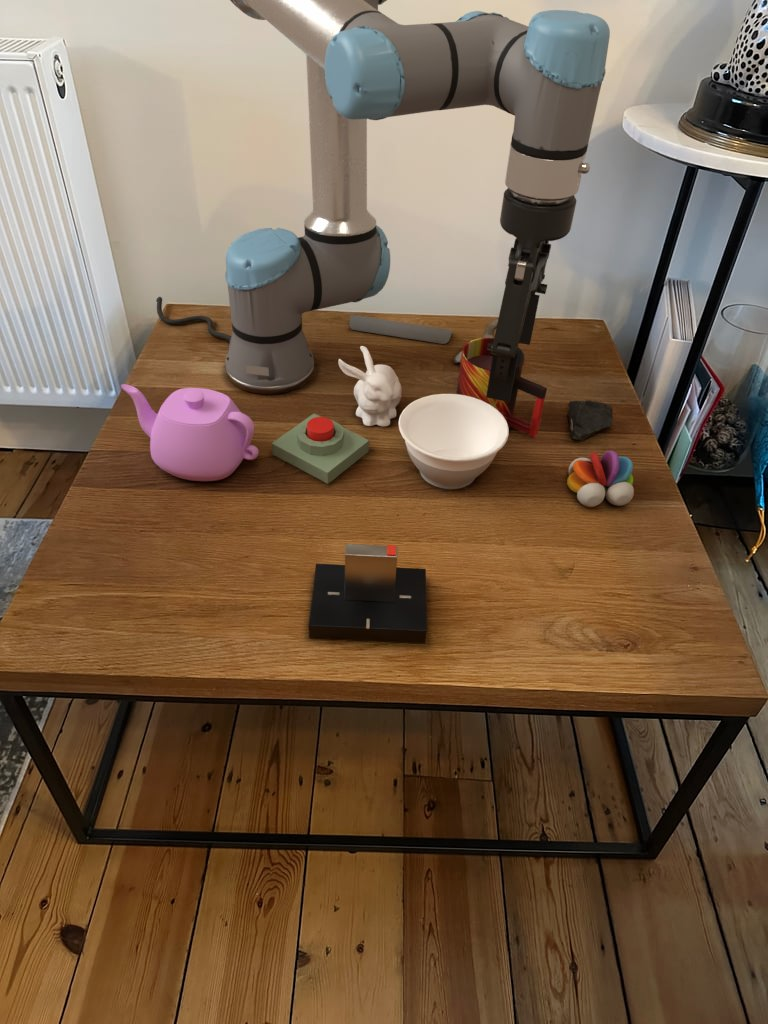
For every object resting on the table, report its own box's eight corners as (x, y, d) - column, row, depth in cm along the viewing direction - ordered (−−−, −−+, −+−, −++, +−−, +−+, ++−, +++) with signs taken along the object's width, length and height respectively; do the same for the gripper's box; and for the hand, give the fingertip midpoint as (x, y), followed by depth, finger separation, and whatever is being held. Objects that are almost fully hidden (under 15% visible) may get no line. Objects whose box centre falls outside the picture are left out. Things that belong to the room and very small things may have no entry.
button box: (272, 454, 117) (270, 433, 114) (314, 424, 123) (314, 403, 120) (327, 484, 112) (327, 463, 109) (368, 451, 118) (369, 430, 115)
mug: (535, 443, 121) (549, 379, 113) (449, 429, 123) (457, 365, 115) (539, 409, 128) (553, 346, 120) (458, 396, 130) (466, 334, 122)
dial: (344, 600, 93) (345, 553, 87) (345, 588, 94) (346, 541, 88) (393, 602, 93) (397, 555, 87) (394, 591, 94) (397, 544, 88)
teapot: (274, 443, 118) (269, 379, 110) (244, 499, 109) (237, 433, 101) (153, 422, 121) (140, 358, 113) (114, 475, 111) (96, 408, 103)
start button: (301, 435, 114) (301, 425, 113) (318, 422, 117) (318, 413, 116) (322, 445, 113) (322, 436, 112) (339, 433, 115) (339, 423, 114)
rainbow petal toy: (558, 473, 116) (568, 435, 111) (619, 472, 117) (632, 434, 112) (572, 512, 110) (583, 473, 105) (637, 510, 111) (651, 471, 106)
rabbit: (392, 437, 121) (395, 372, 113) (334, 428, 122) (334, 363, 114) (405, 394, 130) (410, 332, 121) (351, 386, 131) (352, 324, 123)
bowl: (396, 435, 121) (399, 390, 116) (496, 440, 121) (504, 395, 116) (394, 502, 110) (397, 456, 104) (504, 508, 110) (514, 462, 104)
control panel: (308, 639, 91) (308, 625, 90) (316, 575, 99) (316, 561, 97) (425, 644, 92) (427, 630, 90) (424, 580, 99) (425, 567, 97)
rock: (615, 445, 122) (623, 420, 118) (571, 443, 122) (578, 417, 118) (604, 411, 129) (611, 386, 125) (563, 409, 128) (569, 384, 125)
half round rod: (449, 345, 142) (450, 337, 141) (347, 329, 145) (348, 321, 143) (452, 334, 145) (453, 326, 144) (353, 319, 148) (353, 310, 146)
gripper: (559, 245, 69) (521, 432, 84) (591, 159, 87) (555, 326, 101) (478, 231, 71) (454, 418, 85) (526, 149, 88) (499, 315, 103)
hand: (509, 368), depth 93 cm, fingers open, 13 cm apart
